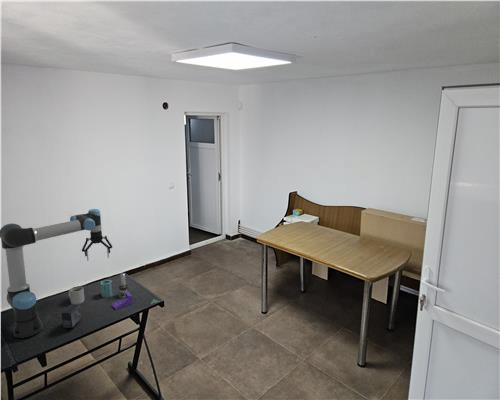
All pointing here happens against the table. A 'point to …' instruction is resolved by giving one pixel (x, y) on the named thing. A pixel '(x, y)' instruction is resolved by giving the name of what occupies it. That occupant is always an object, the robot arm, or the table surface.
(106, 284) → the sleeve
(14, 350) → the table surface
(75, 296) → the mug
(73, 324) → the small box
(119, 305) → the bracket
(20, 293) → the robot arm
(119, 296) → the plate
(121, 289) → the ring
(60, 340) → the table surface
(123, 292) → the pipe
